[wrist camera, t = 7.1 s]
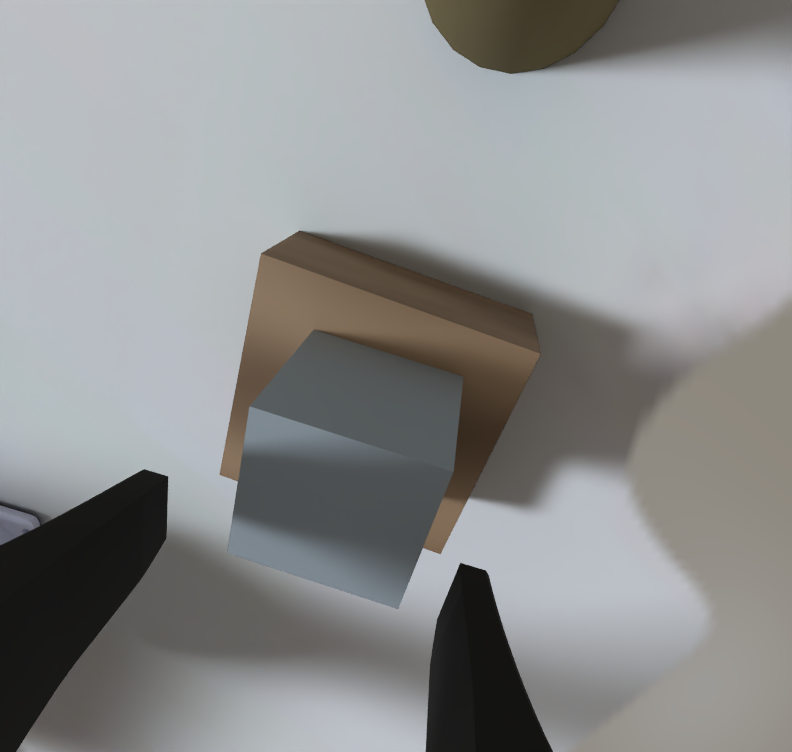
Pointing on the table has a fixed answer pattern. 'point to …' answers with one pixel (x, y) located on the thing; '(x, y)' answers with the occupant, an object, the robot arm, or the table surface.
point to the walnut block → (387, 344)
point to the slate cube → (346, 466)
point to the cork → (518, 29)
